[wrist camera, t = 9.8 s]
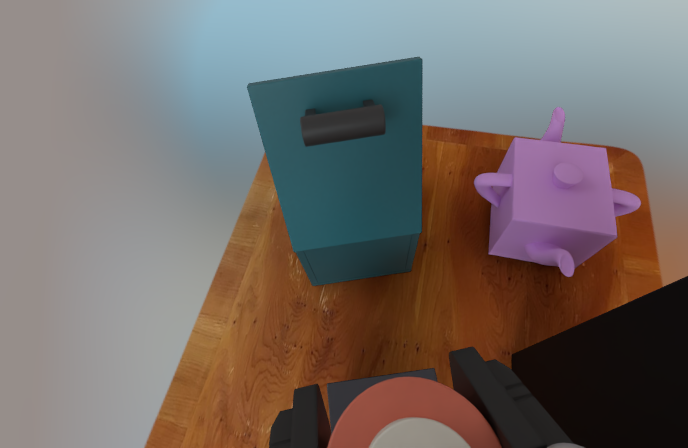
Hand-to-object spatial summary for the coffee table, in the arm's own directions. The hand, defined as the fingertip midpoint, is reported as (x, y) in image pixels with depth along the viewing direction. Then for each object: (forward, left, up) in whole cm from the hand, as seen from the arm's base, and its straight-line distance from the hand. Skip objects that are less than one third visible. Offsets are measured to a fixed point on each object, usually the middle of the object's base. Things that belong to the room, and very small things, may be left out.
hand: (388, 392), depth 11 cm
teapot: (+21, +17, -26) cm, 37 cm away
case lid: (0, +17, -10) cm, 19 cm away
